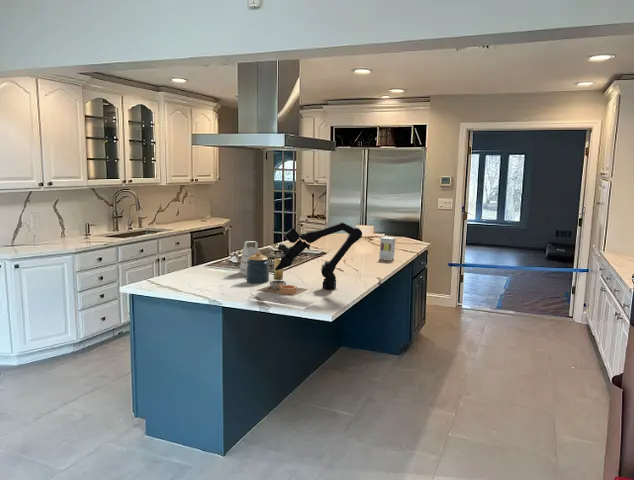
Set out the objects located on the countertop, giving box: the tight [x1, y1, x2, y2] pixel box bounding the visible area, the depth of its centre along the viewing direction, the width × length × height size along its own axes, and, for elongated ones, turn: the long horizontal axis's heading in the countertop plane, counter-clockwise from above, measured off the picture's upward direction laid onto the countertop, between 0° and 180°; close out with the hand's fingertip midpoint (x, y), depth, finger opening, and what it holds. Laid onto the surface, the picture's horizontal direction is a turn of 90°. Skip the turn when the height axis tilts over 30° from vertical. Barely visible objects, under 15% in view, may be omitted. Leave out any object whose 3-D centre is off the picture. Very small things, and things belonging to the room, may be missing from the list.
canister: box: [245, 251, 270, 284], centre depth 294 cm, size 13×13×18 cm
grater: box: [239, 240, 260, 277], centre depth 318 cm, size 10×10×20 cm
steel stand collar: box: [269, 279, 287, 289], centre depth 280 cm, size 8×8×3 cm
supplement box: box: [378, 236, 396, 261], centre depth 385 cm, size 10×9×17 cm
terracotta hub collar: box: [280, 284, 298, 295], centre depth 270 cm, size 8×8×3 cm
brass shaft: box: [273, 257, 284, 281], centre depth 279 cm, size 5×5×11 cm
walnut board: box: [256, 285, 309, 297], centre depth 275 cm, size 22×18×1 cm
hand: (275, 268), depth 279 cm, fingers closed on brass shaft, 5 cm apart
